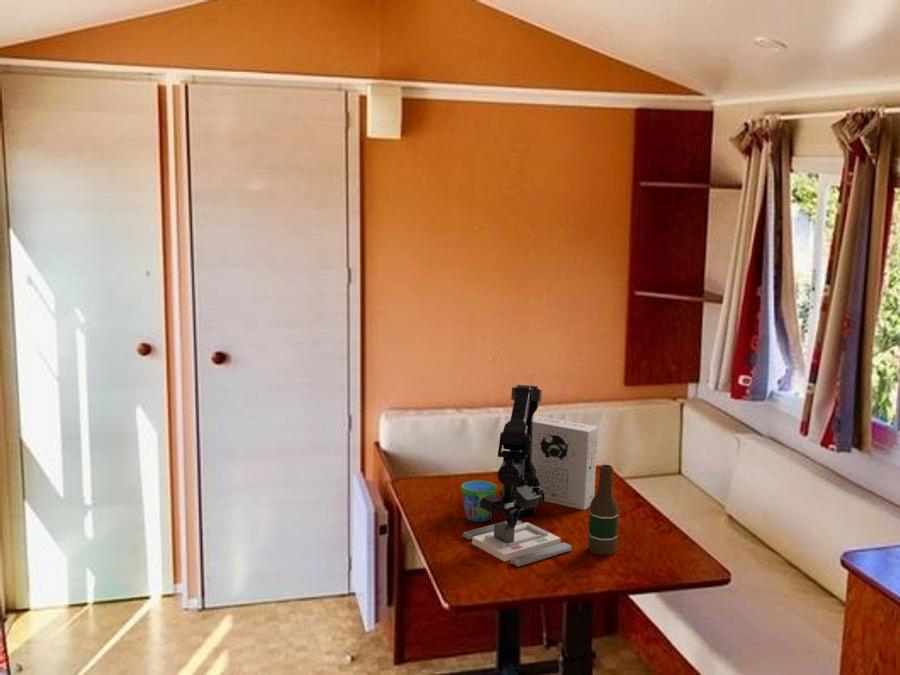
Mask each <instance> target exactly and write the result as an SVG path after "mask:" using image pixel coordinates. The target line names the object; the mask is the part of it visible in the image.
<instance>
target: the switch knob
mask: <svg viewBox="0 0 900 675" xmlns="http://www.w3.org/2000/svg"><path fill="white" fill-rule="evenodd" d="M493 524H494V538H496V539H498V540H500V541H502V542H504V543H506V544H507V543H511V542H514V527H512V526H510V525H508V524H506V523H504V521H501V522H496V523H493Z"/></svg>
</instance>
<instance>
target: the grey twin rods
mask: <svg viewBox="0 0 900 675" xmlns="http://www.w3.org/2000/svg"><path fill="white" fill-rule="evenodd" d="M503 522H504V523H506V524H508V523H507V521H506V520H505V521H503ZM494 524H495V523H493V524H490V525H486V526H483V527H478V528H474V529H471V530H467V531H464V532H463V533H462V537H463V538H464V539H467V540H468V541H471V540H472V537H474V536H478V535H482V534H485V533H489V532H493V531H494ZM519 524H522V520H519V519H518V520H517V523H516V525H519ZM572 549H573V547H572V545H571V544H569V543H567V542H561V543H560V544H557V545H554V546H550V547H547V548H544V549H540V550H537V551H533V552H530V553H527V554H523V555H520V556H516V557H513V558H511V560H509V561H510V563H511V565H515V567H519V568H520V567H522V566H525V565H529V564H532V563H535V562H539V561H541V560H545V559H547V558H551V557H555V556H557V555H561V554H564V553H568V552H571V551H572Z"/></svg>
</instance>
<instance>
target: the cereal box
mask: <svg viewBox="0 0 900 675" xmlns="http://www.w3.org/2000/svg"><path fill="white" fill-rule="evenodd" d="M598 430H599V427H598V426H597V425H591V424H587V423H586V424H585V423H580V422H576V421H575V422H574V421H568V420H562V419H556V418H551V417H546V416H540V415H533V434H532V457H531V462H532V464H533V466H534V467H535V469H536V477H538V481H539V482H540V487H541V488H542V489H543V492H544V494H545V497H544V500H543V501H542V502H548V503H552V504H556V505H560V506H565V507H569V508H573V509H578V510H582V511H585V510H587V509H588V508H590V504H591V502H592V500H593V498H594V497H595V491H596V488H595V487H596V471H597V470H596V469H597V453H598V452H597V451H598V450H597V448H598V433H599V431H598Z"/></svg>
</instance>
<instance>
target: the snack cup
mask: <svg viewBox="0 0 900 675" xmlns="http://www.w3.org/2000/svg"><path fill="white" fill-rule="evenodd" d="M460 489H461V493H462V499H463V506H464V514H465V518H466V519H467V520H468V521H469V522H473V523H475V522H476V523H485V522H487V521H490V520H491V519H492V516H493V513H491V512H489V511H487V510H485V509H483V508H481V507H480V500H481V499H482V498H483V497H487V496H491V495H493V496H495V497H496V494H497V491H498V486H497V484H495V483H493V482H491V481H487V480H470V481H469V480H468V481H466V482H464V483H462V484H461V488H460Z"/></svg>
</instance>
